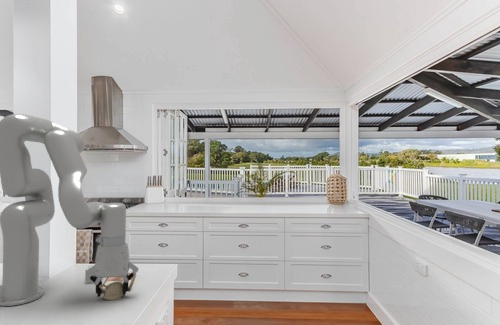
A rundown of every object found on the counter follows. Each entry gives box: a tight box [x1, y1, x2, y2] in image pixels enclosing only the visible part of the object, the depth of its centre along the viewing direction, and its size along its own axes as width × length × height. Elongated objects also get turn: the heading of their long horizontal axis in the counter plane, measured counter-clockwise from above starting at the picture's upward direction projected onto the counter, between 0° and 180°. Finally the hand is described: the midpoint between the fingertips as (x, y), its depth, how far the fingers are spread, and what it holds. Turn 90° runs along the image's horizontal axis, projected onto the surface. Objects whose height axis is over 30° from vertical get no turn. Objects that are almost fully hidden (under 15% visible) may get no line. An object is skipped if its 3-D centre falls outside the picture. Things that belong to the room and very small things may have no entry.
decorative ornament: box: [99, 282, 124, 301], centre depth 102 cm, size 4×8×5 cm, turn 128°
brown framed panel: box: [102, 272, 137, 294], centre depth 115 cm, size 10×16×1 cm, turn 14°
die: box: [84, 265, 103, 285], centre depth 117 cm, size 5×5×5 cm
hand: (112, 294), depth 102 cm, fingers closed on decorative ornament, 7 cm apart
